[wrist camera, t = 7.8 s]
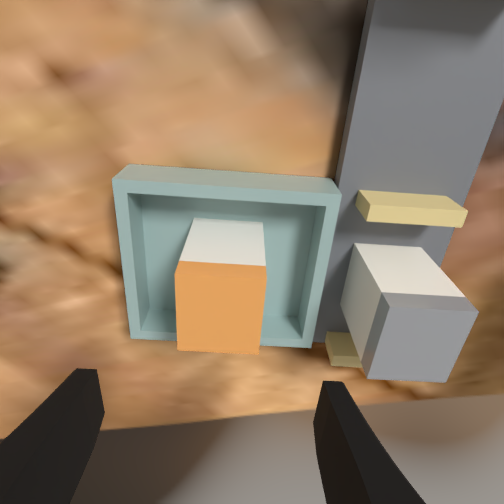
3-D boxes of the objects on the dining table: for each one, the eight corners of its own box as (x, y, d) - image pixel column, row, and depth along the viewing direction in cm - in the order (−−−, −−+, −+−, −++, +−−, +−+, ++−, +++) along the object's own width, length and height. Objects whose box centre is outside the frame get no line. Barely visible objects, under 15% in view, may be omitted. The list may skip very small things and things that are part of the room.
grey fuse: (421, 247, 19) (479, 311, 14) (400, 307, 21) (445, 382, 16) (354, 242, 19) (389, 306, 14) (339, 304, 21) (366, 378, 16)
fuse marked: (262, 222, 19) (266, 279, 14) (256, 285, 21) (258, 354, 16) (194, 217, 19) (174, 273, 14) (194, 281, 21) (177, 350, 16)
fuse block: (681, -435, 10) (835, -612, 7) (403, 336, 23) (423, 371, 21) (455, -466, 10) (532, -662, 7) (306, 330, 23) (313, 366, 20)
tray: (331, 178, 18) (342, 194, 16) (305, 319, 23) (311, 347, 20) (128, 163, 18) (111, 178, 16) (142, 310, 22) (130, 338, 20)
